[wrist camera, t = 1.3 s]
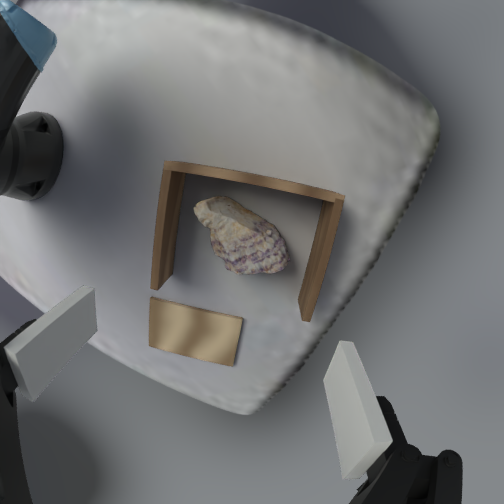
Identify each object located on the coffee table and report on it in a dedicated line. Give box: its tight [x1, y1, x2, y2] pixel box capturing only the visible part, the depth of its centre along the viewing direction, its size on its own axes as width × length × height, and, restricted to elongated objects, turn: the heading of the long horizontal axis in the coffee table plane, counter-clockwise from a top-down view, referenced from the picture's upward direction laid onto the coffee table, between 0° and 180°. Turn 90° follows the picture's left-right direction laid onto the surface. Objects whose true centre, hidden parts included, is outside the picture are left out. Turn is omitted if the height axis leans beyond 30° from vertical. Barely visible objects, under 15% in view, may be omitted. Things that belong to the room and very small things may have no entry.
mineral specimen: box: [194, 196, 290, 275], centre depth 35 cm, size 13×7×6 cm, turn 58°
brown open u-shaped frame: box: [150, 161, 345, 322], centre depth 34 cm, size 20×16×6 cm
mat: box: [149, 297, 243, 367], centre depth 42 cm, size 14×9×1 cm, turn 79°
